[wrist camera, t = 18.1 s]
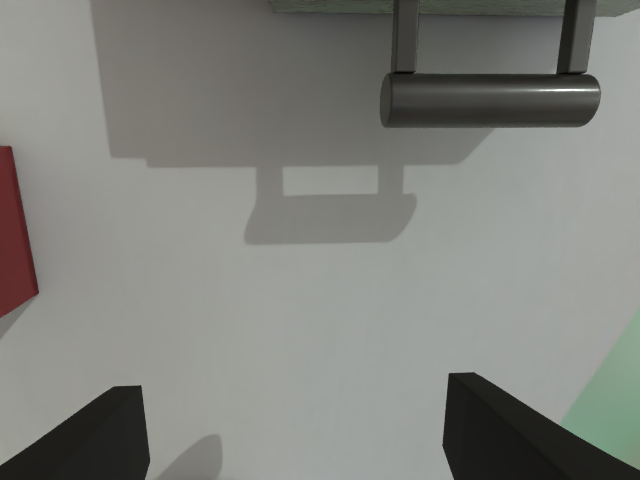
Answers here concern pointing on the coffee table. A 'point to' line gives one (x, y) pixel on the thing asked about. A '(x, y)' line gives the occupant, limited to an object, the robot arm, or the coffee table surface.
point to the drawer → (483, 89)
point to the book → (13, 241)
